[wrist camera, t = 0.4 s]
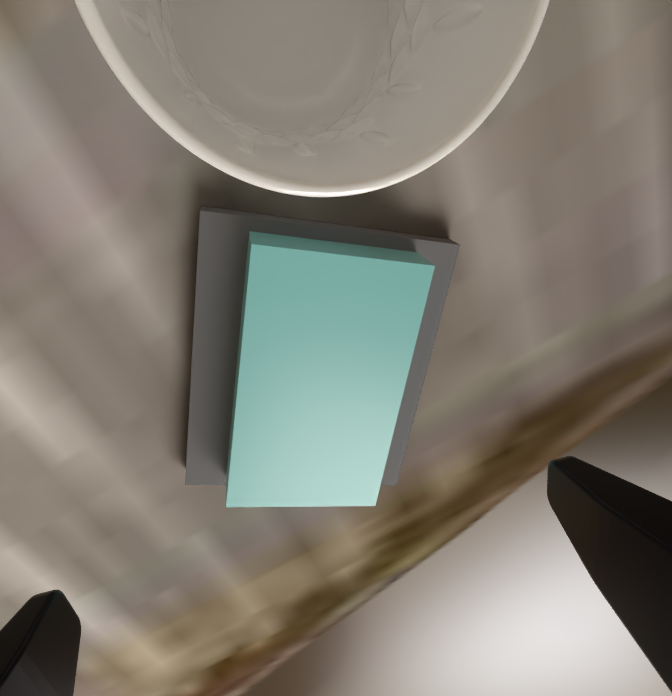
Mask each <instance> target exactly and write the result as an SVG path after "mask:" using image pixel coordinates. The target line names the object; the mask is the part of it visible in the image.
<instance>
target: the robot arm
mask: <svg viewBox="0 0 672 696" xmlns="http://www.w3.org/2000/svg"><path fill="white" fill-rule="evenodd" d="M547 496H548V500H549V503H550V505H551V507H552V509H553V510H554V512H555V514H556V516H557V518H558V519H559V521H560V523H561V525H562V527H563V528H564V530H565V532H566V534H567V536H568V537H569V539H570V541H571V543H572V544H573V546H574V548H575V550H576V552H577V553H578V555H579V557H580V559H581V560H582V562H583V564H584V566H585V567H586V569H587V571H588V573H589V574H590V576H591V578H592V579H593V581H594V582H595V584H596V585H597V587H598V588H599V590H600V591H601V593H602V594H603V596H604V597H605V599H606V600H607V601H608V603H609V604H610V606H611V607H612V609H613V610H614V611H615V613H616V614H617V616H618V617H619V618H620V620H621V621H622V623H623V624H624V626H625V627H626V628H627V630H628V631H629V633H630V634H631V636H632V637H633V638H634V640H635V641H636V643H637V644H638V646H639V647H640V648H641V650H642V651H643V653H644V654H645V655H646V657H647V658H648V659H649V661H650V663H651V664H652V665H653V667H654V668H655V669H656V671H657V673H658V674H659V675H660V677H661V678H662V679H663V681H664V683H665V684H666V685H667V687H668V688H669V690H670V691H671V692H672V501H670V500H668V499H665V498H663V497H661V496H659V495H656V494H655V493H652V492H650V491H648V490H645V489H643V488H641V487H639V486H637V485H635V484H633V483H630V482H628V481H626V480H624V479H621V478H619V477H617V476H615V475H613V474H611V473H608V472H606V471H604V470H602V469H600V468H597V467H595V466H593V465H591V464H588V463H586V462H584V461H582V460H580V459H577V458H575V457H572V456H566V457H562V458H559V459H555V460H552V461H550V462H549V464H548V480H547ZM80 636H81V624H80V620H79V617H78V616H77V614H76V612H75V611H74V609H73V608H72V606H71V605H70V603H69V601H68V600H67V598H66V597H65V595H64V594H63V592H61V591H60V590H52V591H48V592H44V593H40V594H37V595H35V596H33V597H31V598H30V599H29V600H28V601H27V602H26V603H25V605H24V606H23V607H22V608H21V609H20V610H19V611H18V612H17V613H16V614H15V615H14V616H13V618H12V619H11V620H10V621H9V622H8V623H7V624H6V625H5V626H4V627H3V628H2V629H1V631H0V696H73V692H74V684H75V676H76V668H77V660H78V652H79V644H80Z"/></svg>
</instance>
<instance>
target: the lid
mask: <svg viewBox="0 0 672 696" xmlns="http://www.w3.org/2000/svg"><path fill="white" fill-rule="evenodd" d="M434 268H435V266H434V265H433V264H432V263H430V262H429V261H428V260H426V259H425V258H424V257H422V256H421V255H419V254H418V253H417V252H411V251H403V250H395V249H387V248H379V247H371V246H363V245H355V244H347V243H339V242H331V241H323V240H315V239H307V238H299V237H291V236H283V235H275V234H267V233H259V232H251V231H249V239H248V250H247V260H246V271H245V282H244V292H243V303H242V314H241V324H240V335H239V345H238V356H237V367H236V377H235V388H234V398H233V409H232V420H231V430H230V441H229V452H228V462H227V473H226V507H307V506H375V505H376V501H377V497H378V493H379V489H380V485H381V481H382V477H383V473H384V469H385V465H386V461H387V457H388V453H389V449H390V445H391V441H392V437H393V433H394V429H395V425H396V421H397V417H398V413H399V409H400V405H401V401H402V397H403V393H404V389H405V385H406V380H407V376H408V372H409V368H410V364H411V360H412V356H413V352H414V348H415V344H416V340H417V336H418V332H419V328H420V324H421V320H422V316H423V312H424V308H425V304H426V300H427V296H428V292H429V288H430V284H431V280H432V276H433V272H434Z"/></svg>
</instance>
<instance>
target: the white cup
mask: <svg viewBox="0 0 672 696" xmlns="http://www.w3.org/2000/svg"><path fill="white" fill-rule="evenodd" d="M74 1H75V4H76V6H77V8H78V10H79V13H80V15H81V17H82V19H83V21H84V23H85V25H86V27H87V29H88V31H89V33H90V35H91V36H92V38H93V40H94V42H95V44H96V45H97V47H98V49H99V51H100V52H101V54H102V55H103V57H104V59H105V60H106V62H107V63H108V65H109V66H110V68H111V69H112V71H113V72H114V74H115V75H116V76H117V78H118V79H119V81H120V82H121V83H122V85H123V86H124V87H125V88H126V90H127V91H128V92H129V94H130V95H131V96H132V97H133V98H134V100H135V101H136V102H137V103H138V104H139V105H140V106H141V108H142V109H143V110H144V111H145V112H146V113H147V114H148V115H149V116H150V117H151V118H152V119H153V120H154V121H155V122H156V123H157V124H158V125H159V126H160V127H161V128H162V129H163V130H164V131H165V132H167V133H168V134H169V135H170V136H171V137H172V138H174V139H175V140H176V141H177V142H178V143H180V144H181V145H182V146H183V147H185V148H186V149H187V150H189V151H190V152H192V153H193V154H194V155H196V156H197V157H199V158H200V159H202V160H204V161H205V162H207V163H208V164H210V165H212V166H214V167H215V168H217V169H219V170H221V171H223V172H225V173H227V174H229V175H231V176H233V177H235V178H237V179H240V180H242V181H245V182H247V183H250V184H252V185H255V186H258V187H261V188H265V189H268V190H272V191H276V192H280V193H285V194H291V195H298V196H308V197H339V196H349V195H356V194H361V193H366V192H370V191H374V190H378V189H381V188H384V187H387V186H390V185H393V184H396V183H398V182H401V181H403V180H405V179H407V178H410V177H412V176H414V175H416V174H417V173H419V172H421V171H423V170H425V169H426V168H428V167H430V166H431V165H433V164H435V163H436V162H438V161H439V160H441V159H442V158H443V157H445V156H446V155H447V154H449V153H450V152H451V151H453V150H454V149H455V148H456V147H458V146H459V145H460V144H461V143H462V142H463V141H464V140H466V139H467V138H468V137H469V136H470V135H471V134H472V133H473V132H474V131H475V130H476V129H477V128H478V127H479V126H480V125H481V123H482V122H483V121H484V120H485V119H486V118H487V117H488V116H489V114H490V113H491V112H492V111H493V109H494V108H495V107H496V106H497V104H498V103H499V102H500V100H501V99H502V97H503V96H504V95H505V93H506V92H507V90H508V89H509V87H510V86H511V84H512V83H513V81H514V79H515V78H516V76H517V74H518V73H519V71H520V69H521V67H522V66H523V64H524V62H525V60H526V58H527V56H528V54H529V52H530V50H531V48H532V46H533V43H534V41H535V39H536V36H537V34H538V32H539V29H540V27H541V24H542V21H543V19H544V16H545V13H546V10H547V7H548V4H549V1H550V0H74Z"/></svg>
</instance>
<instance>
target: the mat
mask: <svg viewBox="0 0 672 696" xmlns="http://www.w3.org/2000/svg"><path fill="white" fill-rule="evenodd" d="M249 231H251V232H259V233H267V234H275V235H283V236H291V237H299V238H307V239H315V240H323V241H331V242H339V243H347V244H355V245H363V246H371V247H379V248H387V249H395V250H403V251H411V252H417V253H418V254H419V255H421V256H422V257H424V258H425V259H426V260H428V261H429V262H430V263H432V264H433V265H434V266H435V268H434V272H433V276H432V280H431V284H430V288H429V292H428V296H427V300H426V304H425V308H424V312H423V316H422V320H421V324H420V328H419V332H418V336H417V340H416V344H415V348H414V352H413V356H412V360H411V364H410V368H409V372H408V376H407V380H406V385H405V389H404V393H403V397H402V401H401V405H400V409H399V413H398V417H397V421H396V425H395V429H394V433H393V437H392V441H391V445H390V449H389V453H388V457H387V461H386V465H385V469H384V473H383V477H382V481H381V485H396V484H397V481H398V477H399V473H400V469H401V465H402V462H403V458H404V454H405V450H406V447H407V443H408V439H409V435H410V431H411V428H412V424H413V420H414V416H415V413H416V409H417V405H418V401H419V397H420V394H421V390H422V386H423V382H424V379H425V375H426V371H427V367H428V363H429V360H430V356H431V352H432V348H433V345H434V341H435V337H436V333H437V330H438V326H439V322H440V318H441V314H442V311H443V307H444V303H445V299H446V296H447V292H448V288H449V284H450V280H451V277H452V273H453V269H454V265H455V262H456V258H457V254H458V250H459V246H460V245H459V244H457V243H456V242H454V241H452V240H450V239H444V238H437V237H429V236H422V235H414V234H407V233H400V232H392V231H385V230H377V229H370V228H362V227H355V226H347V225H340V224H333V223H325V222H318V221H310V220H303V219H295V218H288V217H280V216H273V215H266V214H258V213H251V212H243V211H236V210H228V209H221V208H213V207H206V206H201V209H200V218H199V237H198V255H197V274H196V293H195V311H194V330H193V348H192V367H191V385H190V404H189V422H188V441H187V459H186V478H185V485H226V473H227V462H228V452H229V441H230V430H231V420H232V409H233V398H234V388H235V377H236V367H237V356H238V345H239V335H240V324H241V314H242V303H243V292H244V282H245V271H246V260H247V250H248V239H249Z"/></svg>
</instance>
